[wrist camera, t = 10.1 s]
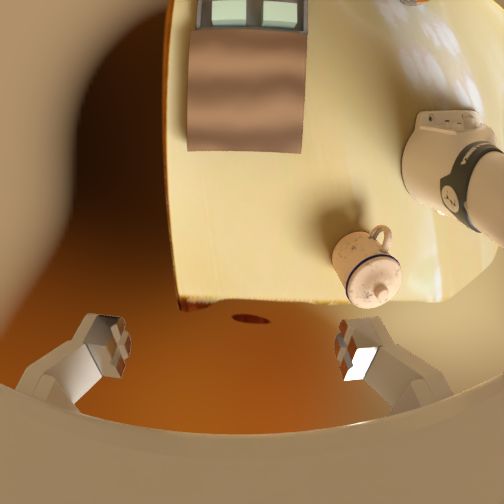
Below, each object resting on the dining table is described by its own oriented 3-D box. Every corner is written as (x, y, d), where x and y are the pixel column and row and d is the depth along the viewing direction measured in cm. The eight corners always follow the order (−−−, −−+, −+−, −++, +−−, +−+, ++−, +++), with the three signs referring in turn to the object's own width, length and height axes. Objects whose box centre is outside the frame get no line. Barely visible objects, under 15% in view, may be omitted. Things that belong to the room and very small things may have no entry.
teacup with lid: (365, 280, 47) (391, 323, 37) (321, 271, 46) (341, 317, 36) (393, 221, 42) (431, 255, 32) (348, 206, 40) (381, 239, 30)
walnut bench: (295, 149, 36) (301, 153, 33) (192, 147, 36) (187, 151, 32) (300, 41, 29) (306, 34, 25) (195, 38, 28) (190, 30, 25)
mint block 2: (297, 22, 24) (296, 3, 22) (263, 20, 24) (263, 0, 22) (291, 31, 27) (291, 13, 26) (261, 29, 27) (261, 11, 26)
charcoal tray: (303, 39, 29) (307, 34, 26) (198, 35, 28) (195, 30, 26) (303, -16, 24) (307, -23, 22) (203, -20, 23) (201, -27, 21)
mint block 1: (245, 19, 24) (246, 0, 22) (211, 20, 23) (212, 1, 22) (245, 28, 27) (245, 10, 26) (214, 29, 27) (215, 11, 26)
